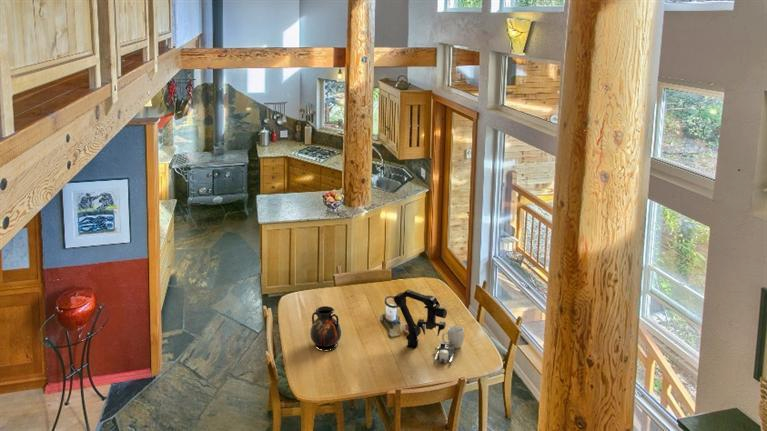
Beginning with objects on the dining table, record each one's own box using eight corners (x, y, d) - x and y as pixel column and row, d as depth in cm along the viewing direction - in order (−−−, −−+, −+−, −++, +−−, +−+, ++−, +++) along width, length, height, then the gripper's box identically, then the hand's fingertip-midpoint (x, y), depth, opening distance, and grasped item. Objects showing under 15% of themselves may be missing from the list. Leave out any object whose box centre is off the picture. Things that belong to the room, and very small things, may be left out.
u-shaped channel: (430, 362, 431) (430, 351, 428) (435, 350, 446) (436, 339, 444) (450, 365, 427) (451, 354, 425) (455, 352, 443) (455, 342, 440)
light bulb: (437, 364, 428) (437, 355, 426) (440, 358, 436) (440, 349, 433) (446, 365, 426) (446, 356, 424) (449, 359, 434) (449, 350, 432)
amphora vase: (306, 352, 445) (304, 315, 437) (316, 337, 465) (315, 301, 457) (336, 355, 441) (334, 318, 432) (345, 340, 460) (344, 304, 452)
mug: (441, 349, 447) (441, 332, 443) (442, 341, 458) (442, 324, 454) (463, 350, 445) (463, 333, 441) (463, 342, 456) (464, 325, 452)
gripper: (415, 318, 432) (415, 339, 436) (442, 321, 427) (442, 342, 432) (418, 311, 442) (418, 331, 447) (446, 314, 437) (445, 334, 442)
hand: (431, 335), depth 441 cm, fingers open, 9 cm apart
